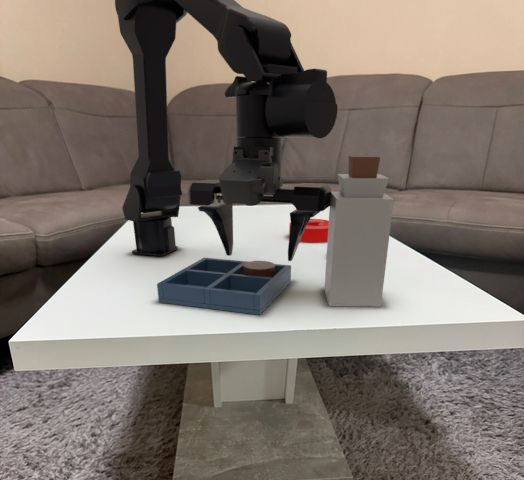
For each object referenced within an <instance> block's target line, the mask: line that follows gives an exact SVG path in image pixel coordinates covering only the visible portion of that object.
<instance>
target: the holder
mask: <svg viewBox="0 0 524 480" xmlns="http://www.w3.org/2000/svg"><path fill="white" fill-rule="evenodd" d="M247 262H248V261H246V260H236V259H226V258H225V259H223V258H214V257H213V258H212V257H202V258H200V259H198V260H196V261H195V262H193V263H191V264H189V265H188V266H186V267H184V268H182V269H181V270H179V271H177V272H176V273H173V274H172V275H170V276H169V277H167V278H165V279H163V280H161V281H160V282H157V283H156V289H157V297H158V303H160V304H161V303H162V304H171V305H178V306H187V307H194V308H200V309H201V308H202V309H211V310H217V311H225V312H226V311H227V312H234V313H240V314H241V313H242V314H249V315H259V316H260V315H262V313H264V311H265V310H266V309H268V307H269V306H270V305H271V304H272V303H273V302H274V301H275V299H277V297H278V296H279V295H280V294H281V293H282V292H283V291H284V290H285V289H286V288H287V286H288V285H290V284H291V282H292V265H290V264H280V263H274V264H275V276H274V277H273V278H271V277H261V276H251V275H244V268H243V265H244V264H245V263H247Z"/></svg>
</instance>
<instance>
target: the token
mask: <svg viewBox="0 0 524 480" xmlns="http://www.w3.org/2000/svg"><path fill="white" fill-rule="evenodd" d="M275 264H276V263H274V262H271V261H267V260H252V261H247V263H245V264H244V265H243V268H244V275H251V276H261V277H271V278H273V277H274V276H275Z"/></svg>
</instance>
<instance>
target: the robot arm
mask: <svg viewBox="0 0 524 480" xmlns="http://www.w3.org/2000/svg"><path fill="white" fill-rule="evenodd" d="M114 8H115V11H116V14H117V19H118V28H119V33H120V35H121V37H122V39H123V41H124V43H125V44H126V46H127V48H128V50H129V52H130V53H131V56H132V57H131V58H132V67H133V68H132V69H133V84H134V100H135V116H136V133H137V135H136V136H137V150H138V151H137V153H138V157H137V159H136V162H135V163H134V164H133V167H132V169H131V171H130V175H129V176H130V177H129V190H128V191H127V195H126V197H125V200H124V201H123V204H122V208H121V209H122V212H123V216H124V219H125V220H127V221H130V222H132V223H133V224H132V225H133V232H134V240H135V249H133V250H132V251H131V254H132V255H141V256H153V257H164V256H166V255H168V254H170V253H173V252H174V251H177V250H178V249H179V246H177V244H176V234H175V227H174V226H173V223H172V221H173V220H172V218H179V214H180V206H181V198H182V196H183V191H182V174H181V171H180V170H176V169H175V167H174V166H173V164H172V162H171V160H170V157H169V155H170V154H169V126H168V124H169V123H168V95H167V94H168V93H167V92H168V91H167V62H166V61H167V57H168V54H169V53H170V51H171V48H172V47H173V44H174V42H175V40H176V36H177V35H176V34H177V23H179V22H180V21H181V20H182V19H183V18H184V17H186V16H187V15H190V16H191V17H192V18H193V19H194V20H195V21H196V22H197V23H198V24H200V25H201V26H202V27H203V28H204V29H205V30H206V31H208V32H209V34H211V35H212V36H213V38H214V39H215V40H216V42H217V51H218V53H219V55H220V56H221V58H222V59H223V60H224V61H225V63H226V64H227V65H228V67H229V68H230V70H231V71H233V73H235V74H239V75H236V76H235V77H234V80H233V81H232V83H231V84H230V85H229V86H228V87H227V88H226V89H225V91H224V97H226V98H229V99H235V108H236V109H235V110H236V111H235V113H236V114H235V116H236V119H235V120H236V146H233V151H232V160H231V163H230V164H228V165H227V166H226V168H225V169H224V170H223V171H222V172H221V174H220V175H219V176H218V179H202V180H198V181H194V182H192V183H191V184H190V185H189V188H188V190H187V195H188V205H191V206H198V207H197V209H198V211H199V212H204V214H206V215H207V216H208V217H209V218H210V219H211V221H212V223H213V225H214V226H215V229H216V231H217V234H218V236H219V238H220V241H221V244H222V246H223V248H224V251H225V254H226V256H228V257H230V256H232V255H233V250H234V218H233V217H234V213H233V211H234V209H233V205H234V204H236V205H237V204H238V205H239V204H240V205H245V206H247V207H253V206H257V205H259V204H260V203H279V204H280V203H281V204H292V206H294V208H295V209H294V210H292V211H291V212H289V219H290V222H291V228H290V237H289V236H288V245H287V261H288V262H292V261H293V259H294V258H295V255H296V252H297V250H298V246H299V245H300V243H301V242H300V239H301V237H302V234H303V232H304V230H305V228H306V226H307V224H308V222H309V220H310V219H312V218H314V217H316V216H317V215H318V214H320V213H322V212H324V211H325V210H327V208H330V195H331V192H332V188H331V187H330V185H329V184H328V183H316V182H311V183H310V182H302V183H299V184H297V185H295V186H294V187H293V188H286V187H285V188H284V187H283V179H284V178H281V177H282V155H283V154H284V145H282V138H284V139H285V138H286V139H324V138H326V137H327V136H328V135H330V133H331V132H332V130H334V129H333V128H334V126H335V124H336V121H337V116H338V109H339V108H338V107H339V105H338V104H337V101H336V96H335V92H334V90H333V88H332V87H331V85H330V83H328V71H327V70H326V69H323V68H322V69H321V68H309V69H304V67H303V65H302V62H301V60H300V59H299V56H298V54H297V52H296V50H295V47H294V46H293V44H292V41H291V39H292V33H291V31H290V29H289V27H288V26H287V24H285V23H284V22H281V21H279V20H277V19H275V18H272V17H270V16H267V15H265V14H261V13H258V12H256V11H253V10H250V9H248V8H245V7H244V6H242V5H241V4H240V3H238V2H237V1H236V0H114ZM241 75H243V76H241Z"/></svg>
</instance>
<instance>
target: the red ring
mask: <svg viewBox="0 0 524 480" xmlns="http://www.w3.org/2000/svg"><path fill="white" fill-rule="evenodd" d="M328 226H329V219H322V218H310V220H309V222H308V224H307V226H306V228H305V230H304V232H303V234H302V237H301V239H300V242H299V243H327V242H328ZM290 228H291V221H290V222H289V229H288V238H289V237H290Z"/></svg>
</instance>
